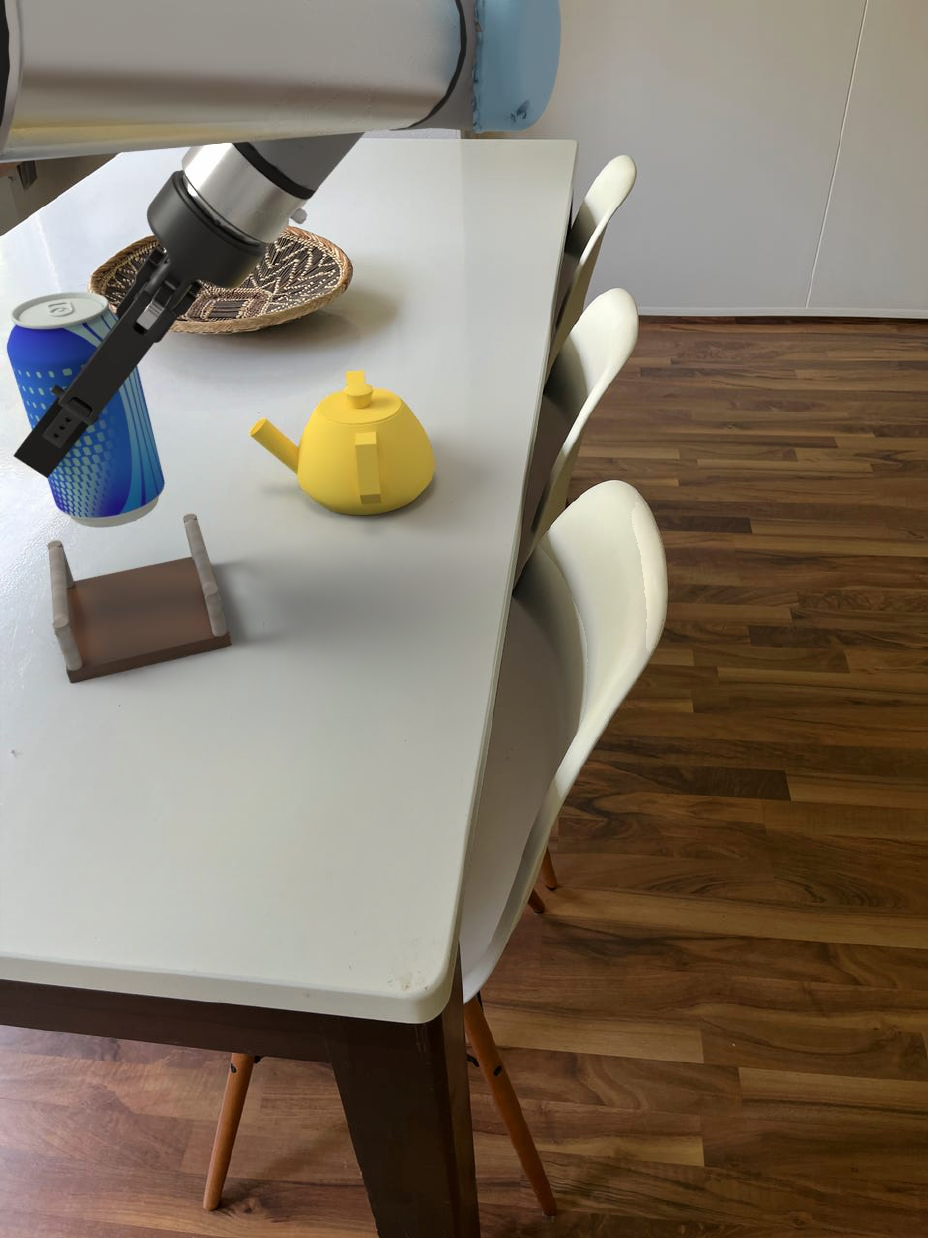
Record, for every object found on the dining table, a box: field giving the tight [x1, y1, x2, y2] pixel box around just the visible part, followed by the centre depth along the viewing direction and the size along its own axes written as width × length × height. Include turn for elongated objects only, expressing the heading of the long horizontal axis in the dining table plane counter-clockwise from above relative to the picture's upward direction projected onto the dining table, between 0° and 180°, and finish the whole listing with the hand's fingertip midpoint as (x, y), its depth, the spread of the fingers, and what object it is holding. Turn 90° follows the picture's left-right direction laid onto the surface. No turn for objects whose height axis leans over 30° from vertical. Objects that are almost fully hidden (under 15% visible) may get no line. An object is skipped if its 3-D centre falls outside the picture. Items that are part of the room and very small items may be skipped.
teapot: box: [248, 370, 436, 516], centre depth 100 cm, size 20×18×11 cm
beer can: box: [6, 291, 166, 529], centre depth 74 cm, size 8×8×16 cm
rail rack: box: [46, 513, 233, 684], centre depth 84 cm, size 13×13×6 cm
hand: (50, 435), depth 75 cm, fingers closed on beer can, 8 cm apart
